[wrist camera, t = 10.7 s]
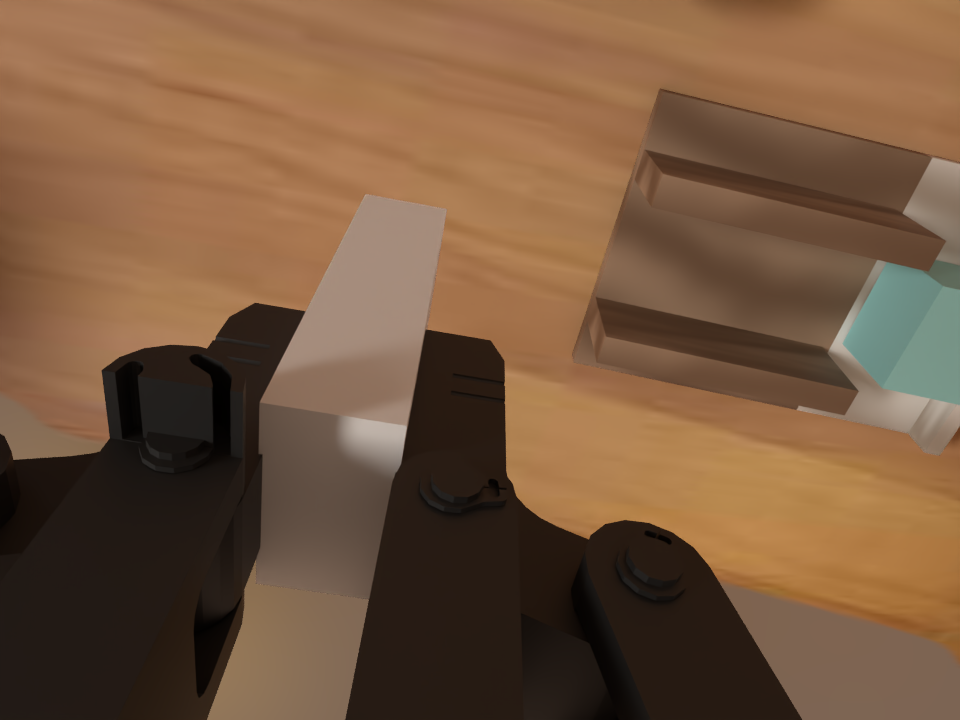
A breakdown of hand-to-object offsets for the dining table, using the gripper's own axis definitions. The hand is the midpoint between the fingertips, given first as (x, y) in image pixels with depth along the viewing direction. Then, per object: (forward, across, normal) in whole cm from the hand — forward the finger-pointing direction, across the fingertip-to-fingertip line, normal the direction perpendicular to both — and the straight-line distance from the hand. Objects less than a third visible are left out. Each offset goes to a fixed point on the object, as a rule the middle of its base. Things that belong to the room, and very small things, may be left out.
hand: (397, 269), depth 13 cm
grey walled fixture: (+25, +21, -8) cm, 34 cm away
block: (+24, +28, -8) cm, 38 cm away
